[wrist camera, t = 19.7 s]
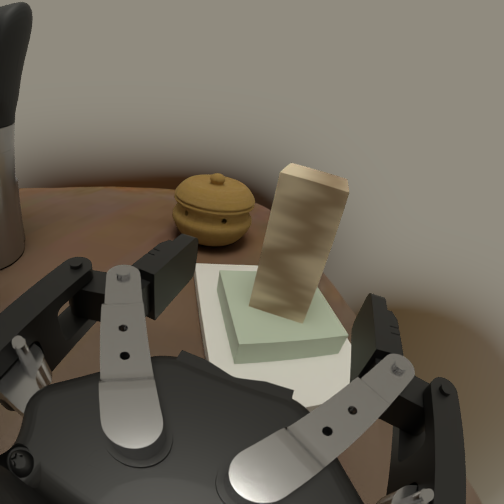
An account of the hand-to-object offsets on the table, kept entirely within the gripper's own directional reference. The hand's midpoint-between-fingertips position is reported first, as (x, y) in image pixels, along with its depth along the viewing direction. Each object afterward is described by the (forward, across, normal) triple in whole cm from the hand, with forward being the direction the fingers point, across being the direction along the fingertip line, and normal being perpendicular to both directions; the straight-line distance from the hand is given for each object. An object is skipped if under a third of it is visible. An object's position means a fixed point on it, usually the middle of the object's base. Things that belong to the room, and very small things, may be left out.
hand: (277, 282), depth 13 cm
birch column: (+12, 0, +9) cm, 15 cm away
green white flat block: (+11, 0, +13) cm, 17 cm away
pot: (+26, +13, +14) cm, 33 cm away
